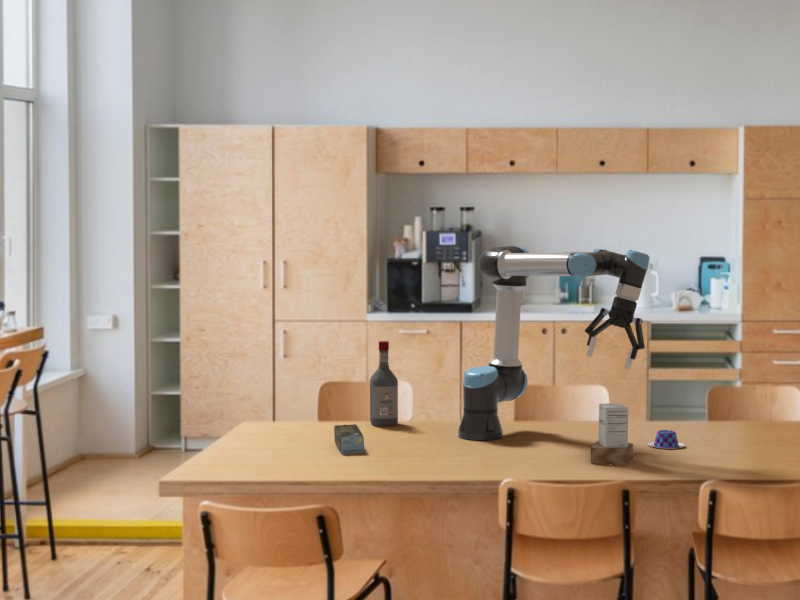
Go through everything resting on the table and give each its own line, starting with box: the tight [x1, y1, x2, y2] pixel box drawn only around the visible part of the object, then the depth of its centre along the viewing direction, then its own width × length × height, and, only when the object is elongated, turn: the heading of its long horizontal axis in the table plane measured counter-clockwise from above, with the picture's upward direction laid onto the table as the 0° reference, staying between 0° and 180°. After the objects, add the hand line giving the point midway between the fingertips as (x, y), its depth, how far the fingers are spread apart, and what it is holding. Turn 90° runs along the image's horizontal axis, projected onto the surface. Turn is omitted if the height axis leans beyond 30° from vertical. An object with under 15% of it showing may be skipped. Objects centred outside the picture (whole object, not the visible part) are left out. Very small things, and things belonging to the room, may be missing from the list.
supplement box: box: [598, 402, 629, 448], centre depth 379 cm, size 7×7×13 cm
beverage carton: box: [333, 423, 365, 455], centre depth 402 cm, size 8×19×7 cm, turn 9°
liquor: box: [369, 340, 399, 428], centre depth 443 cm, size 9×9×30 cm
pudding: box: [647, 429, 686, 450], centre depth 404 cm, size 12×12×5 cm
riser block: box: [590, 440, 634, 467], centre depth 380 cm, size 11×11×5 cm
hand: (607, 362), depth 394 cm, fingers open, 13 cm apart
